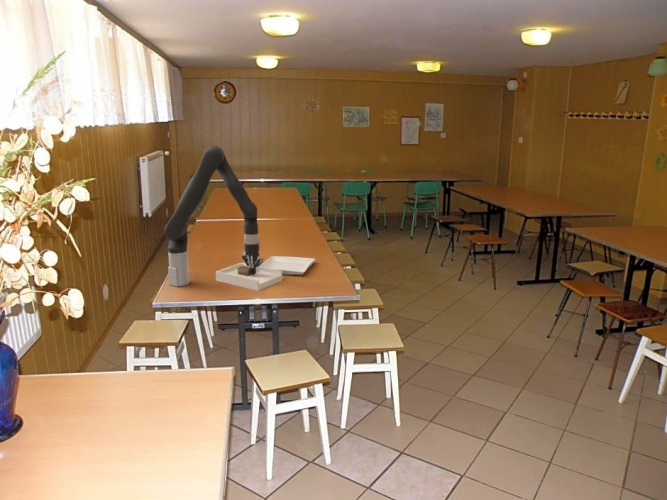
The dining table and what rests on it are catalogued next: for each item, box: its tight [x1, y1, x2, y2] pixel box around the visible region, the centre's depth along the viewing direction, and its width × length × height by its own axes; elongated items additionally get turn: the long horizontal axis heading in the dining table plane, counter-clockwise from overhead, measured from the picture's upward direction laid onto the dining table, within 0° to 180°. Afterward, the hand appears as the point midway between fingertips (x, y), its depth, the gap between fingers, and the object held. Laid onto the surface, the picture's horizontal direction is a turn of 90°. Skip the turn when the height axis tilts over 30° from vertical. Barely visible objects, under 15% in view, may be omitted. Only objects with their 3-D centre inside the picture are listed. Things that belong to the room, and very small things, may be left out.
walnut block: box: [238, 266, 251, 276], centre depth 272 cm, size 4×7×4 cm, turn 56°
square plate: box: [259, 255, 317, 276], centre depth 291 cm, size 27×27×4 cm
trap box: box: [215, 262, 284, 292], centre depth 271 cm, size 19×29×5 cm, turn 56°
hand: (253, 274), depth 269 cm, fingers closed
